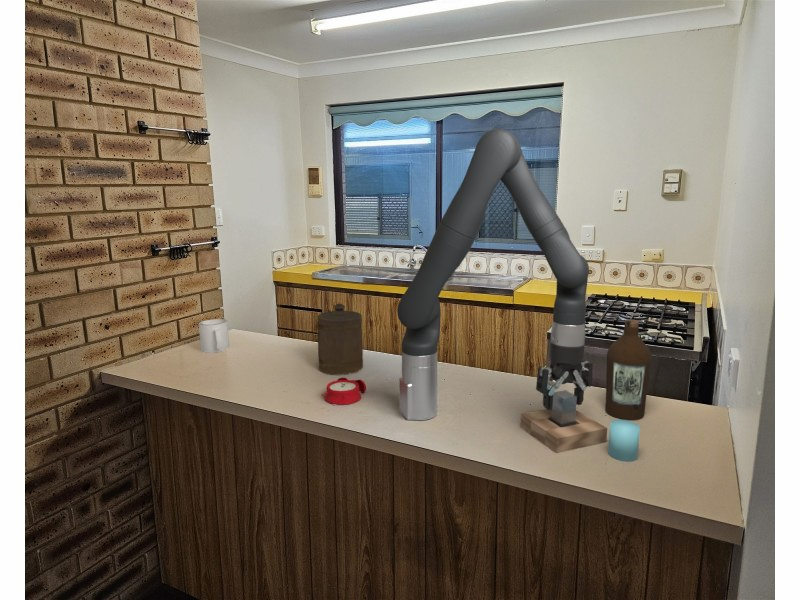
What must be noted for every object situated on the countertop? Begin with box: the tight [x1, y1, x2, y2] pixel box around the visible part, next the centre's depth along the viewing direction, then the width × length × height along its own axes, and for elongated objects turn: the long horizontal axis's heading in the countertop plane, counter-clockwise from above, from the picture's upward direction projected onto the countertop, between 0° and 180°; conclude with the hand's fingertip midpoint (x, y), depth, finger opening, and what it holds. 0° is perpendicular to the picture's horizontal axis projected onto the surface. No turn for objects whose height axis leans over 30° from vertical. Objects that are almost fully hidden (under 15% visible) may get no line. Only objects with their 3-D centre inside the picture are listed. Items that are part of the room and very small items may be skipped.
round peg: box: [607, 419, 641, 463], centre depth 112 cm, size 6×6×7 cm
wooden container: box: [317, 303, 364, 375], centre depth 170 cm, size 15×15×22 cm
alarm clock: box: [321, 376, 367, 406], centre depth 147 cm, size 10×6×15 cm
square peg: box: [550, 389, 577, 427], centre depth 122 cm, size 4×4×10 cm
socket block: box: [520, 408, 608, 454], centre depth 122 cm, size 14×14×4 cm
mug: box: [198, 318, 230, 354], centre depth 192 cm, size 14×10×11 cm
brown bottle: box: [604, 318, 653, 421], centre depth 132 cm, size 11×11×25 cm
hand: (563, 406), depth 121 cm, fingers open, 8 cm apart
